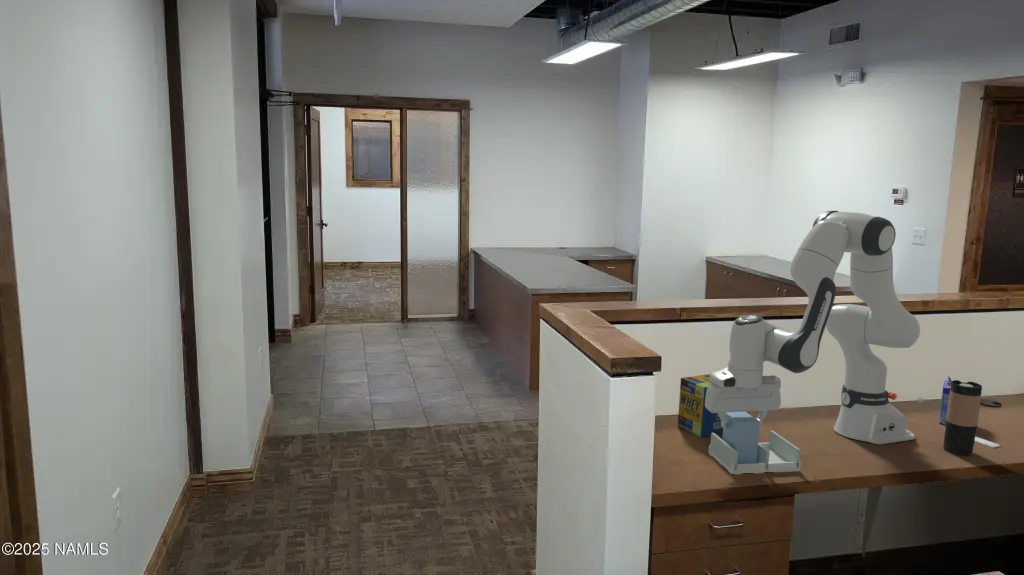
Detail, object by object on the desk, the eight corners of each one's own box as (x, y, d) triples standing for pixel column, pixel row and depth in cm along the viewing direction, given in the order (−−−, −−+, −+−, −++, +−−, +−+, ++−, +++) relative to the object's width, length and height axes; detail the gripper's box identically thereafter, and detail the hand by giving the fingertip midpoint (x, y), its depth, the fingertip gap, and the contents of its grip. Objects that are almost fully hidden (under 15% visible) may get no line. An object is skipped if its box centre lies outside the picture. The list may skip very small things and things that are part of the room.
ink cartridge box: (939, 415, 237) (944, 372, 235) (958, 418, 234) (964, 375, 232) (938, 423, 229) (943, 379, 227) (958, 427, 226) (964, 383, 224)
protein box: (676, 426, 221) (679, 377, 218) (714, 419, 228) (718, 372, 225) (700, 437, 211) (703, 387, 209) (739, 430, 218) (743, 381, 216)
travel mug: (961, 457, 201) (970, 389, 198) (936, 447, 208) (944, 381, 205) (979, 454, 204) (988, 386, 201) (953, 444, 211) (962, 378, 208)
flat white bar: (954, 429, 225) (955, 426, 225) (1003, 447, 211) (1003, 444, 211) (943, 431, 223) (944, 428, 223) (991, 449, 209) (992, 445, 209)
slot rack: (772, 450, 203) (774, 430, 202) (799, 471, 189) (802, 449, 188) (708, 453, 200) (709, 432, 199) (732, 474, 186) (733, 452, 185)
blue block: (741, 453, 198) (745, 411, 196) (756, 464, 190) (759, 421, 188) (721, 453, 197) (724, 412, 195) (735, 465, 189) (738, 422, 187)
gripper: (775, 371, 195) (771, 420, 197) (704, 374, 191) (700, 423, 194) (787, 378, 189) (783, 428, 191) (714, 381, 185) (711, 432, 188)
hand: (741, 426), depth 192 cm, fingers open, 8 cm apart
